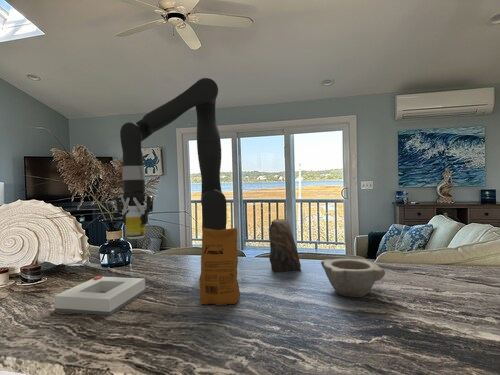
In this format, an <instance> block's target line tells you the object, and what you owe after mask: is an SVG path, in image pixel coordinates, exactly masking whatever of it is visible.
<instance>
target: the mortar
mask: <svg viewBox="0 0 500 375" xmlns="http://www.w3.org/2000/svg"><path fill="white" fill-rule="evenodd" d="M320 265H321V266H322V268H323V270H324V272H325V275H326V276H327V279H328V281H329V283H330V285H331V286H332V288H333V290H334V291H335V292H336V293H337V294H338V295H341V296H344V297H350V298H361V297H365V296H366V295H367V294H369V292H370V291H371V289H372V288H373V286H374V285H375V283H376V282H377V281H380V280H382V279H383V278H384V277H385V275H386V271H385V270H384V268H382V267H380V265H378V264H376V263H374V262H373V261H369V260H368V259H364V258H336V259H335V258H334V259H330V258H329V259H322V260H321V261H320Z"/></svg>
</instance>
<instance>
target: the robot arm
mask: <svg viewBox="0 0 500 375" xmlns="http://www.w3.org/2000/svg"><path fill="white" fill-rule="evenodd" d="M218 94H219V86H218V84H217V82H216V81H215V80H214V79H213V78H210V77H202V78H200V79H198V80H197V81H195V82H194V83H193V84H191V85H190V86H189V87H188V88H187V89H186V90H184V91H183V92H181V93H180V94H179V95H177V96H176V97H174V98H172V99H171V100H169V101H167V102H165V103H164V104H162V105H160V106H158V107H156V108H154V109H152V110H151V111H149V112H147V113H145V114H144V115H143V117H142V118H141V119H140V120H138V121H136V122H132V121H130V122H129V121H128V122H125V123H124V124H122V126H121V128H120V133H119V135H120V137H119V138H120V144H121V149H122V174H121V175H122V191H123V195H122V196H121V195H120V196H119V195H118V196H116V197H115V203H116V210H117V211H116V212H117V213H118V214H121V215H122V223H123V224H124V226H126V214H127V213H129V210H128V206H137V207H138V209H140V211H141V213H142V225H145V226H146V225H147V224H148V223H149V219H148V218H149V215H148V214H150V213H153V211H154V196H153V195H146V193H145V192H146V183H145V182H146V180H145V168H144V153H143V150H142V142H143V141H144V140H146V139H147V138H148V137H151V136H152V135H153V134H154V133H155V132H158V131H159V130H161V129H163V128H165V127H167V126H168V125H170V124H171V123H173V122H174V121H176V120H177V119H178V118H180V117H181V116H182V115H183V114H185V113H186V112H188V111H190V110H191V109H193V108H194V107H195V112H196V120H197V122H196V148H197V151H196V152H197V158H198V159H197V160H198V165H199V172H200V178H201V191H200V192H201V195H200V196H201V197H200V203H201V204H200V206H201V214H202V215H201V216H202V217H201V218H202V220H201V221H202V222H201V233H202V235H203V229H204V228H205V229H212V230H224V229H227V224H228V217H227V215H228V214H227V212H228V211H227V210H228V209H227V206H228V205H227V204H228V203H227V199H226V196H225V194H224V193H223V191H222V185H221V168H222V141H221V135H220V131H219V126H218V123H217V120H216V119H217V118H216V117H217V116H216V103H217V102H216V101H217V98H218ZM145 201H146V203H145ZM124 202H125V203H124ZM141 205H142V206H141ZM202 235H201V236H202Z"/></svg>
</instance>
